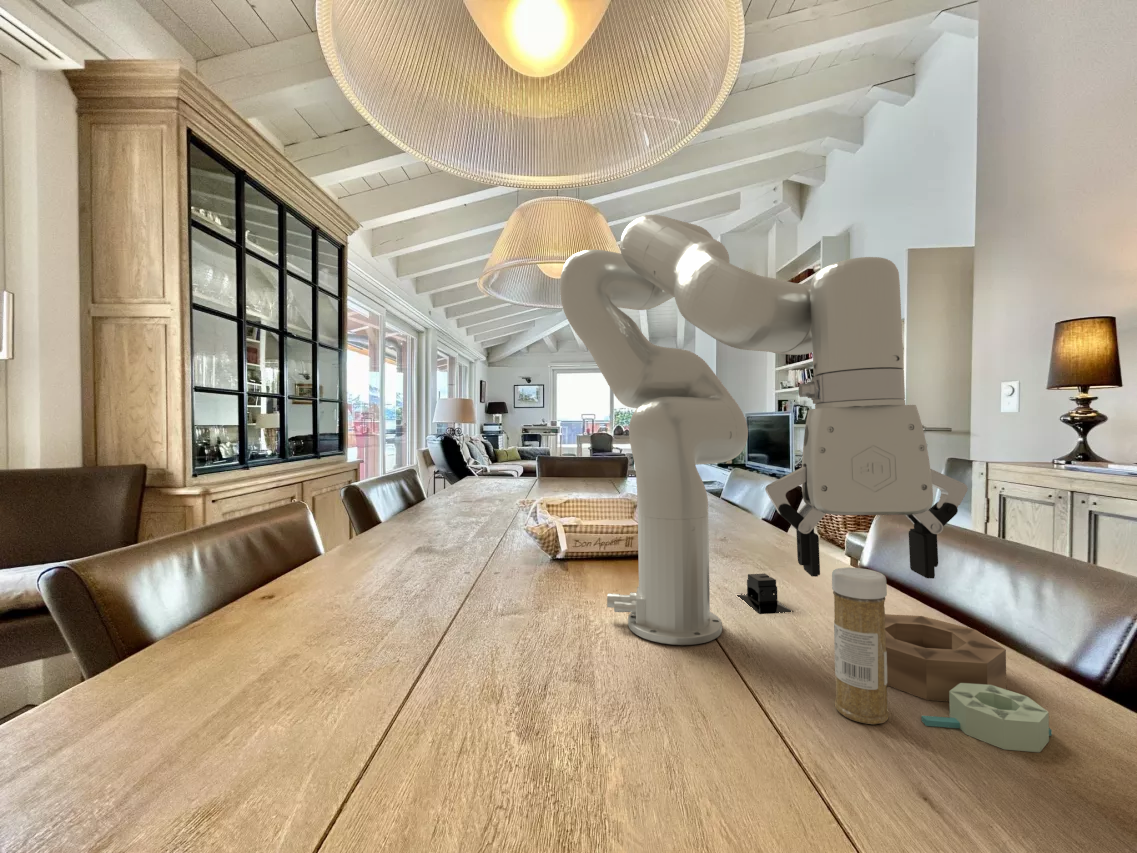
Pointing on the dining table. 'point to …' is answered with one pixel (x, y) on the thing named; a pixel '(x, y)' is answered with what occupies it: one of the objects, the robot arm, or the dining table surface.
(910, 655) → the brown octagonal holder
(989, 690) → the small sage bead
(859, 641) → the sprinkles bottle
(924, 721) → the teal bar
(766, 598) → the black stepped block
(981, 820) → the dining table surface
